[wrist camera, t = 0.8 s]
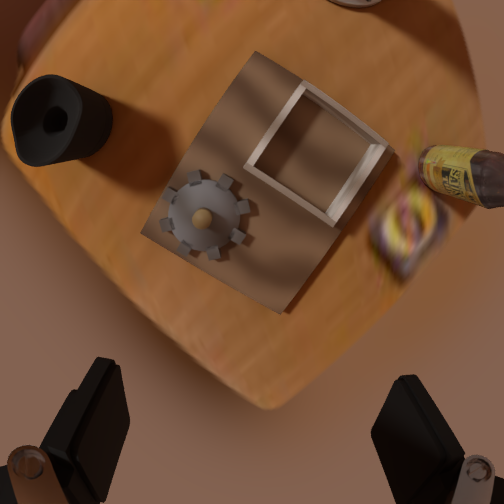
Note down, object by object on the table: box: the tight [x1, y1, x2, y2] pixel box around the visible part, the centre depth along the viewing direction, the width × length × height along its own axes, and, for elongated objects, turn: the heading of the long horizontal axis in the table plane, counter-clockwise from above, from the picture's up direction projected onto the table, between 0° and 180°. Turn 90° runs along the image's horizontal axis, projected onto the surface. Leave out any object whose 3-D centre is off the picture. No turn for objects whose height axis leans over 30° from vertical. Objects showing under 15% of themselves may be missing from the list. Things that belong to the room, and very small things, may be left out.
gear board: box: [141, 51, 395, 315], centre depth 35 cm, size 25×20×5 cm
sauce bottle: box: [418, 145, 504, 209], centre depth 27 cm, size 6×6×20 cm
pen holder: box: [11, 75, 112, 167], centre depth 29 cm, size 9×9×10 cm
